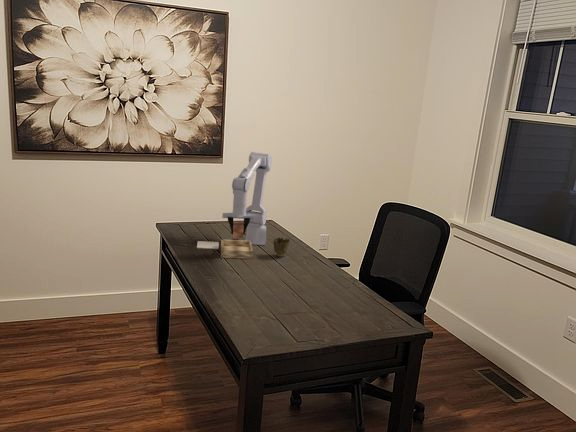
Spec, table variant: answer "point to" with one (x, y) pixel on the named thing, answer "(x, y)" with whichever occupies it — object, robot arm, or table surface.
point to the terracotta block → (238, 229)
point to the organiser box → (236, 249)
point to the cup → (281, 246)
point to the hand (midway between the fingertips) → (237, 234)
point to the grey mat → (208, 245)
